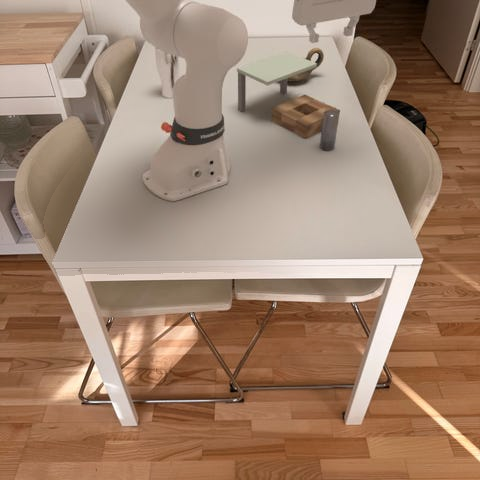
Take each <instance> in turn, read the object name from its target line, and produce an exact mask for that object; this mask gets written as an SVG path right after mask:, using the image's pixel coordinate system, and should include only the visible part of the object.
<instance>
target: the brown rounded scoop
mask: <svg viewBox="0 0 480 480" xmlns="http://www.w3.org/2000/svg"><path fill="white" fill-rule="evenodd" d="M315 54H318V56H317V59H316V61H314V63H317V67H315V68H312V69H310V70H307V71H304V72H302V73H299V74H297V75H294V76H291V77H289V78H288V81H287V82H301V81H304V80H306V79H308V78H309V77H310V76H311V73H312V72H313V71H315V70H316V69H318V68H319V67H320V66H321V64H322V63H323V61H324V57H325V56H324V52H323V50H322V49H321V48H319V47H314V48H312V49H310V50H309V51H308V52H307V55H306V57H303V58H304V59H306V60H309V61H312V57H313V56H314V55H315Z"/></svg>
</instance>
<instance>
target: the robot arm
mask: <svg viewBox="0 0 480 480" xmlns="http://www.w3.org/2000/svg"><path fill="white" fill-rule="evenodd" d="M125 1H126V3H127V4H128V5H129V6H130V7H131V9H133V11H135V12H136V14H137V15H138V16H139V29H140V32H141V34H142V37H143V38H144V40H145V41H146V42H148V44H150V45H151V46H153V47H154V48H155V47H156V48H158V49H159V50H161V51H163V52H165V53H168V54H172V55H175V56H178V58H182V59H184V61H185V64H186V65H185V66H186V69H185V74H183V75H181V76H180V77H178V80H177V81H176V82H175V84H174V86H173V89H172V93H173V98H172V100H173V110H174V117H173V121H172V124H169V123H168V122H166V121H164V122H162V123H161V125H160V126H161V127H160V129H161V130H162V131H163V132H165V133H167V134H168V133H170V134H169V136H168V137H166V139H165V140H164V142H163V143H162V144H161V145H160V146H159V148H158V149H157V150H156V151H155V152H154V153H153V154H152V156H151V159H150V168H149V169H148V170H147V171H144V173H143V174H142V182H143V184H144V185H145V187H146V188H147V189H148V191H150V192H152V194H154V195H156V196H157V197H159V198H160V199H163V200H165V201H170V202H176V201H180V200H182V199H185V198H189V197H192V196H195V195H198V194H201V193H204V192H207V191H210V190H214V189H216V188H219V187H221V186H224V185H227V184H228V182H229V177H228V175H229V173H230V171H231V164H230V162H229V158H228V155H227V150H226V146H225V138H224V133H225V117H224V115H223V101H222V100H223V86H224V81H225V78H226V76H227V74H228V72H229V71H230V70H231V69H232V68H233V67H235V66H236V65H238V64H239V63H240V62H241V61H242V59H243V58H244V56H245V55H246V52H247V48H248V44H249V35H248V29H247V26H246V23H245V21H244V20H243V19H242V18H240V17H239V16H237V15H235V14H233V13H231V12H230V11H228V10H226V9H224V8H221V7H217V6H213V5H208V4H205V3H200V2H196V1H194V0H125ZM376 3H377V0H294V1H293V6H292V16H291V18H292V20H293V22H294V23H296V24H297V25H299V26H305V27H306V29H307V31H308V34H309V39H308V40H309V42H310V43H311V44H315V43H318V42H319V38H320V34H318V33H317V32H315V31H316V30H315V29H316V28H317V24H319V23H323V22H329V21H336V20H341V19H346V18H348V19H349V21H348V23H347V26H343V32H342V33H343V36H344V37H352V36H353V34H354V28H356V26H357V24H358V23H359V20H360V16H363V15H369V14H372V12H373V11H374V9H375V7H376Z"/></svg>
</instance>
